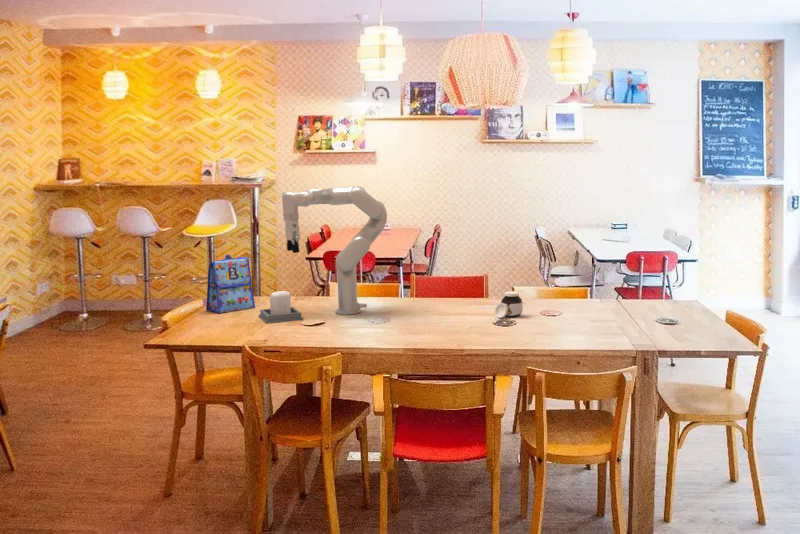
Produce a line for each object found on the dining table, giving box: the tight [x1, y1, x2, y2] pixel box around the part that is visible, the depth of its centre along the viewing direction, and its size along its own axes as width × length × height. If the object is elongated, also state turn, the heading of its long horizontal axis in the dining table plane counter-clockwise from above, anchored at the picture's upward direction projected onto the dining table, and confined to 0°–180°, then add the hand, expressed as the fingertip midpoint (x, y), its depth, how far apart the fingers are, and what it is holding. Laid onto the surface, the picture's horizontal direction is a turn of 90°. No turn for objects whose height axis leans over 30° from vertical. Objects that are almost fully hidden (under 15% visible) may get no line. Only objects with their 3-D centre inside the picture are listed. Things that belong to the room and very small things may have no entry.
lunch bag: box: [205, 254, 256, 314], centre depth 443 cm, size 22×14×29 cm, turn 131°
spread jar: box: [494, 290, 524, 319], centre depth 411 cm, size 12×11×12 cm
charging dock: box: [258, 306, 304, 325], centre depth 420 cm, size 18×18×4 cm
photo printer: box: [269, 290, 292, 315], centre depth 419 cm, size 10×4×12 cm, turn 121°
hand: (293, 251), depth 425 cm, fingers open, 9 cm apart
